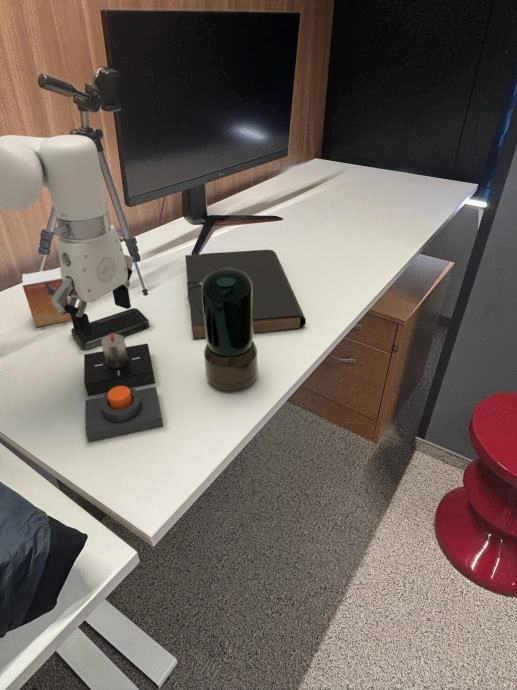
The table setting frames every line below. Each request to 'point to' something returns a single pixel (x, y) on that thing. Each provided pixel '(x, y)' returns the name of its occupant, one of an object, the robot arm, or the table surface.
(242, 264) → the dark brown book
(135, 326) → the phone
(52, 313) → the small box
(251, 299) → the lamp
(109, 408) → the button block
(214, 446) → the table surface
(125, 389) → the button
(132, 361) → the dial panel
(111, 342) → the dial
